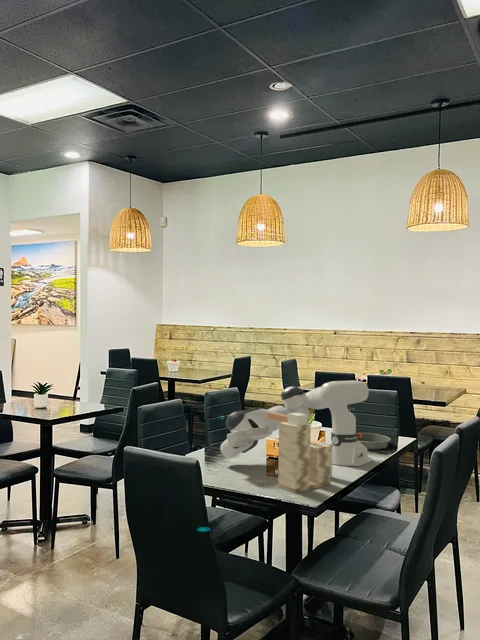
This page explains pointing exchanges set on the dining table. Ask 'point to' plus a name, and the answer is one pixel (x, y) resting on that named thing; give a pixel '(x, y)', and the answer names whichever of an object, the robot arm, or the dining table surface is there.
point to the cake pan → (379, 440)
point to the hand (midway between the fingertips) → (260, 428)
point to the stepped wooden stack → (302, 459)
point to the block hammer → (289, 418)
